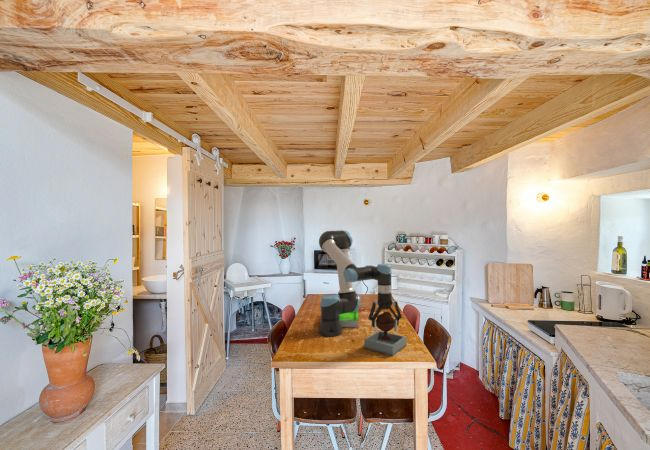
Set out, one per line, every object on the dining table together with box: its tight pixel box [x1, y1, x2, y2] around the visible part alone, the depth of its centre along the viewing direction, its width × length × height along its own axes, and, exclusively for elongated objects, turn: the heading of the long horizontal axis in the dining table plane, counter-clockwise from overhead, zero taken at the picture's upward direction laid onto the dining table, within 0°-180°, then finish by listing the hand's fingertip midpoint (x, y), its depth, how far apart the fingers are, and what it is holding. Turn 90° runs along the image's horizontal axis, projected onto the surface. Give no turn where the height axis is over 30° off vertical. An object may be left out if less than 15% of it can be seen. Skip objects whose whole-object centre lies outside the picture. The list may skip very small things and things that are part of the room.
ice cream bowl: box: [375, 311, 395, 340], centre depth 172 cm, size 11×11×15 cm
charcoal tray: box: [363, 330, 407, 357], centre depth 172 cm, size 17×17×5 cm
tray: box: [339, 309, 359, 328], centre depth 219 cm, size 25×25×5 cm
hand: (385, 332), depth 172 cm, fingers closed on ice cream bowl, 11 cm apart
